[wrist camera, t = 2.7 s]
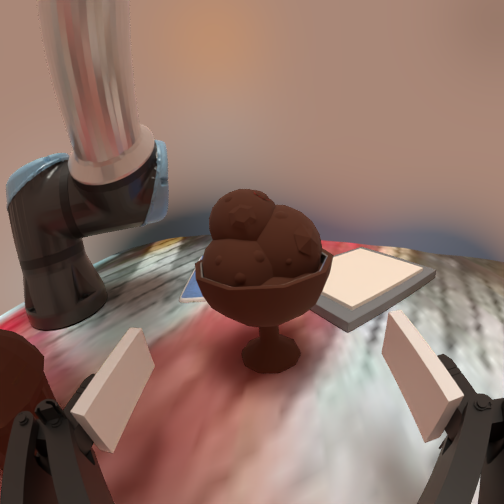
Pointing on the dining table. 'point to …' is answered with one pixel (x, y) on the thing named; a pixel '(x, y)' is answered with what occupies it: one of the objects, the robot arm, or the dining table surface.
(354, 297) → the sheet
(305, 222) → the ice cream bowl
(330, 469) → the dining table surface
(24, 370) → the muffin
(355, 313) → the mat
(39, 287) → the robot arm
